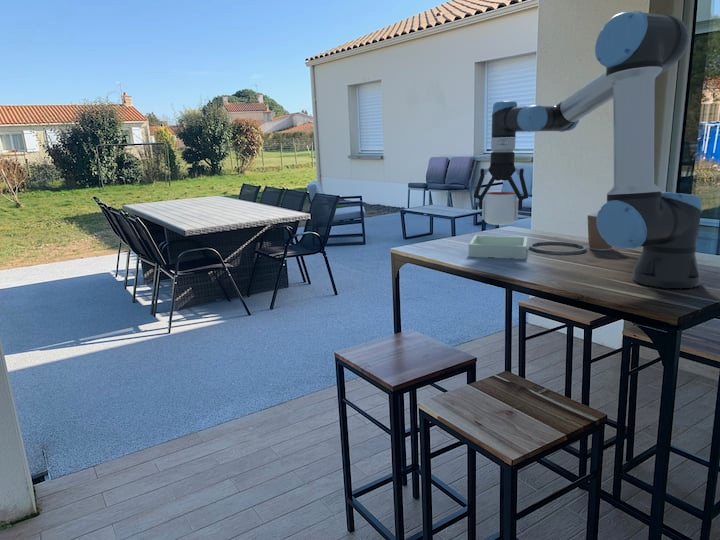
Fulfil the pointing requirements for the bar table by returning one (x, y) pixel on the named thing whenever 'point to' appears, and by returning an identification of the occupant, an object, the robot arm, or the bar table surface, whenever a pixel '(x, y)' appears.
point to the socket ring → (582, 250)
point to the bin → (498, 247)
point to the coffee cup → (595, 234)
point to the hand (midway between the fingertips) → (499, 219)
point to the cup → (500, 208)
